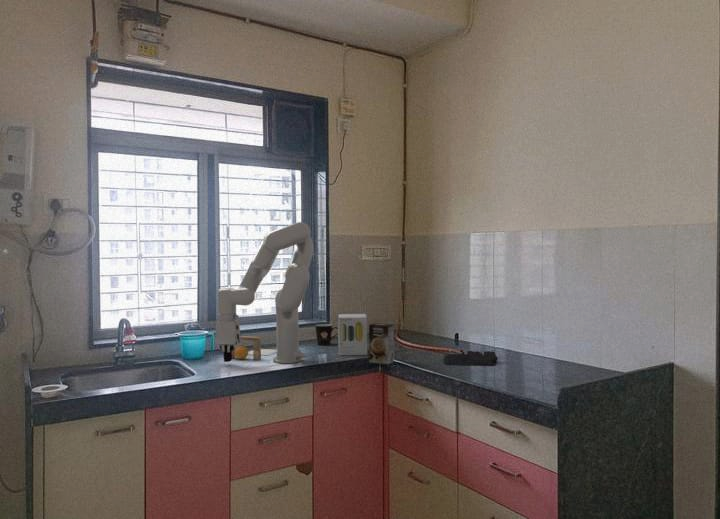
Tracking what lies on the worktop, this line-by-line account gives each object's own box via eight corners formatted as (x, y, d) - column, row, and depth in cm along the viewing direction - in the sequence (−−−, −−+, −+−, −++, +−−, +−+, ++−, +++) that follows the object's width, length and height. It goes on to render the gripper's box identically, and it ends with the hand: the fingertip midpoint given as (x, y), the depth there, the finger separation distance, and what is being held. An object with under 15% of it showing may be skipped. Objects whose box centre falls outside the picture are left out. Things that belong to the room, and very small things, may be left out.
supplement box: (338, 355, 235) (337, 317, 235) (338, 350, 249) (338, 314, 248) (367, 355, 236) (367, 316, 236) (366, 350, 249) (365, 313, 249)
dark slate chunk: (442, 359, 227) (442, 348, 227) (494, 360, 224) (494, 349, 224) (444, 366, 212) (444, 355, 212) (499, 367, 209) (499, 355, 209)
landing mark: (280, 350, 250) (280, 350, 250) (267, 355, 238) (267, 355, 238) (256, 349, 254) (256, 348, 254) (242, 354, 242) (242, 353, 242)
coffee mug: (312, 345, 262) (312, 326, 262) (319, 343, 271) (318, 323, 270) (334, 346, 259) (334, 326, 259) (340, 343, 267) (340, 324, 267)
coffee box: (368, 362, 219) (368, 324, 219) (375, 359, 225) (374, 322, 225) (388, 364, 215) (387, 325, 215) (394, 361, 221) (394, 323, 221)
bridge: (231, 357, 235) (231, 335, 235) (260, 358, 230) (260, 337, 230) (227, 358, 232) (227, 336, 232) (257, 360, 227) (257, 338, 227)
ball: (251, 345, 232) (244, 347, 227) (250, 358, 232) (243, 360, 226) (239, 344, 234) (232, 345, 228) (238, 357, 234) (231, 359, 228)
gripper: (247, 317, 220) (248, 360, 220) (217, 316, 224) (217, 358, 225) (237, 319, 213) (238, 364, 213) (206, 318, 217) (207, 362, 217)
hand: (227, 361), depth 219 cm, fingers closed
